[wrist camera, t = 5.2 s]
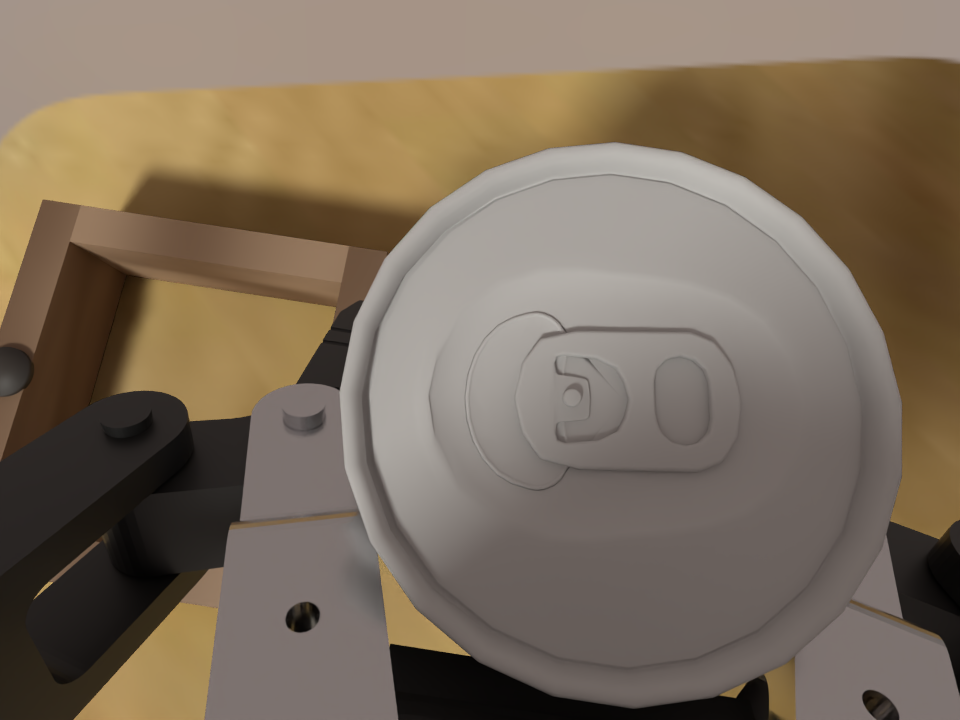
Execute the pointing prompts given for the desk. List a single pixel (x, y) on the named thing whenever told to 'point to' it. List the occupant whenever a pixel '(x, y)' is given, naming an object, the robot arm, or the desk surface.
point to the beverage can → (621, 425)
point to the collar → (96, 292)
